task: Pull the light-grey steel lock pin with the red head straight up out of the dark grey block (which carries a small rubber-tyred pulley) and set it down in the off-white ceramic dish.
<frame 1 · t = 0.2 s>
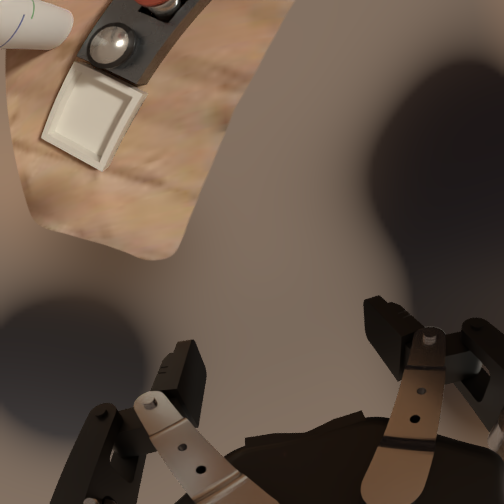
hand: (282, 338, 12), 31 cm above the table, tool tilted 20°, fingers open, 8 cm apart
dark grey block: (148, 25, 25), on the table
dish: (94, 113, 31), on the table
cylindrical container: (54, 29, 21), on the table
lock pin: (170, 12, 24), resting in dark grey block
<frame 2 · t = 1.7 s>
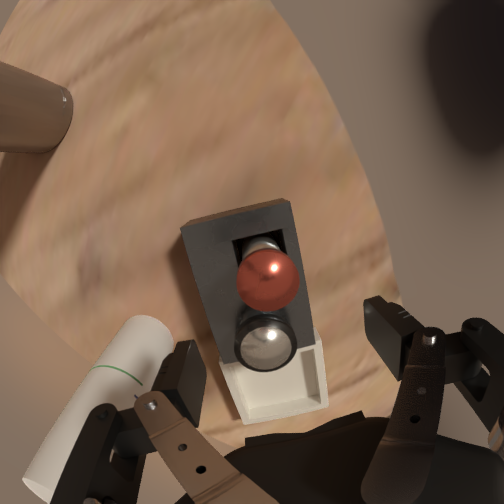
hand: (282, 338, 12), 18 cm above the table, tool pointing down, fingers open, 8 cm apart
dark grey block: (251, 275, 31), on the table
dish: (276, 374, 34), on the table
cylindrical container: (147, 338, 33), on the table
lock pin: (259, 246, 30), resting in dark grey block
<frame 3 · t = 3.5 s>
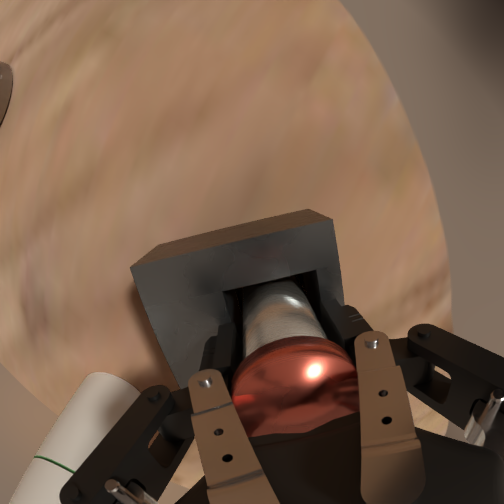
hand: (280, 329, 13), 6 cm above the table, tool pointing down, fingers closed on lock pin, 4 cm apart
dark grey block: (257, 329, 19), on the table
cylindrical container: (115, 399, 21), on the table
lock pin: (269, 286, 19), resting in dark grey block, touching gripper
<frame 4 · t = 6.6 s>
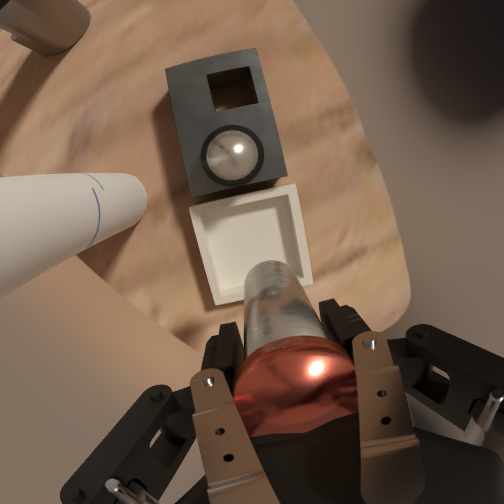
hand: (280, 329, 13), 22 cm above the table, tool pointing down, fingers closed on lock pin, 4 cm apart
dark grey block: (226, 125, 31), on the table
dish: (252, 241, 34), on the table
cylindrical container: (122, 200, 32), on the table
lock pin: (271, 286, 19), point 16 cm above the table, touching gripper
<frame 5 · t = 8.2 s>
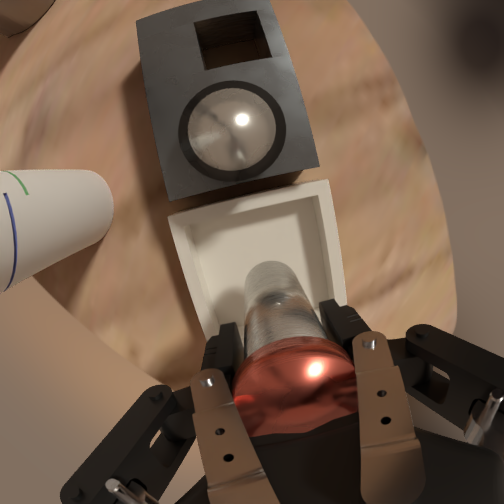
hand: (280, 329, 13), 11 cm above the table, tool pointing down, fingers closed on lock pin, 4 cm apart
dark grey block: (223, 97, 20), on the table
dish: (263, 263, 24), on the table
cylindrical container: (83, 207, 22), on the table
lock pin: (271, 286, 19), point 5 cm above the table, touching gripper
when the fingers open (8 cm above the table, at t = 9.5 s): lock pin drops 2 cm, resting on dish.
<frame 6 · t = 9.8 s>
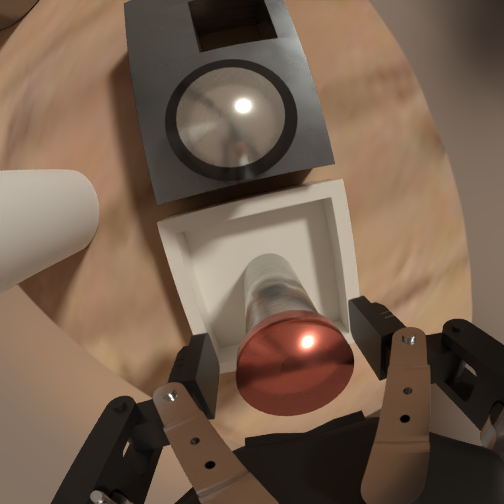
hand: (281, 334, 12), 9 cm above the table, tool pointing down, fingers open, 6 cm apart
dark grey block: (222, 86, 17), on the table
dish: (267, 274, 21), on the table
cylindrical container: (67, 211, 19), on the table
lock pin: (269, 277, 20), point 1 cm above the table, touching dish
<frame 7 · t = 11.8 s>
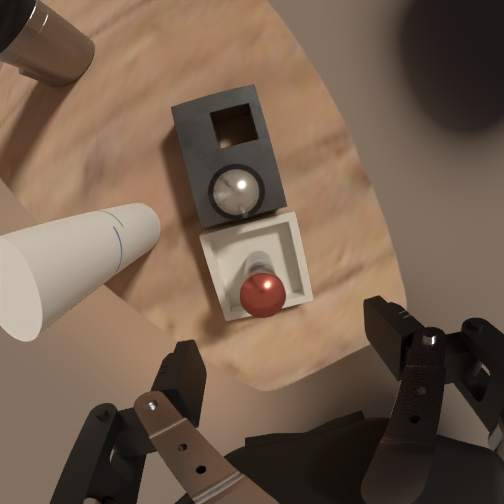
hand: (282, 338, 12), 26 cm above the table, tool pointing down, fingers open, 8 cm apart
dark grey block: (230, 157, 34), on the table
dish: (257, 263, 38), on the table
cylindrical container: (137, 228, 37), on the table
lock pin: (258, 264, 37), point 1 cm above the table, touching dish
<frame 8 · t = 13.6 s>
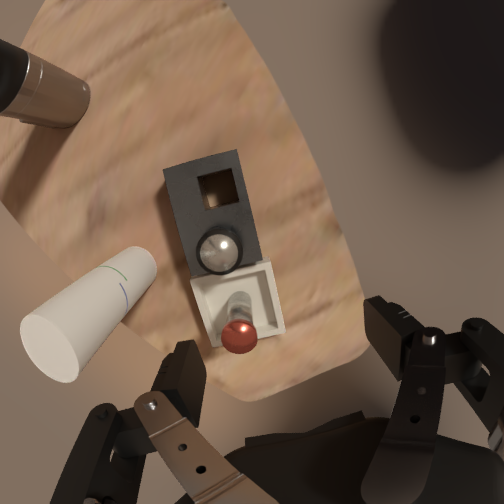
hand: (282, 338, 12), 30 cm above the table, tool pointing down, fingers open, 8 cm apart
dark grey block: (216, 210, 40), on the table
dish: (239, 299, 44), on the table
cylindrical container: (137, 267, 42), on the table
lock pin: (240, 301, 43), point 1 cm above the table, touching dish
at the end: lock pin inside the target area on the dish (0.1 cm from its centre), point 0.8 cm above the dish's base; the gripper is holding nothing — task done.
